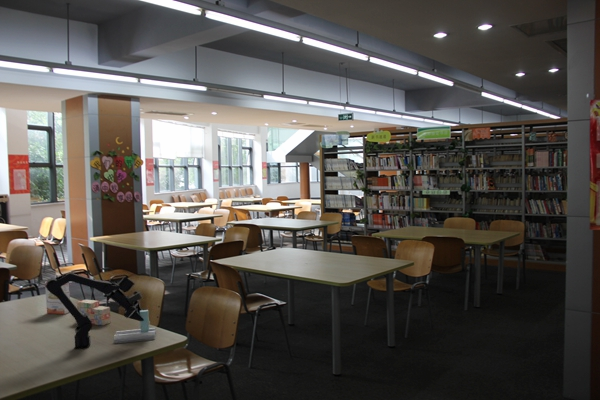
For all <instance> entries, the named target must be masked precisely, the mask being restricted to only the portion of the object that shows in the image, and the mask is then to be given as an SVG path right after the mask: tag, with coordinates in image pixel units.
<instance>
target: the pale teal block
mask: <svg viewBox="0 0 600 400" xmlns="http://www.w3.org/2000/svg"><path fill="white" fill-rule="evenodd" d="M140 315H141V317H142V318H143V319H144V321H139V323H140V324H139V325H140V329H141V332H149V328H150V324H151V321H150V319H149V318H150V316H149V315H150V314H149V309H144V310H143V309H142V310H140Z"/></svg>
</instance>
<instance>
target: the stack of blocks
mask: <svg viewBox="0 0 600 400" xmlns="http://www.w3.org/2000/svg"><path fill="white" fill-rule="evenodd" d="M76 305H77V306H76V308H77V309H78V310H79V311H80V312H81V313H82V314H83V315H84V314H85V313H86V314H87V316H88V317H89V318H91V320H92V322H91V323H92V325H97V326H105V325H108V324H110V323H111V307H110V306H103V305H100V300H94V299H83V300H80V301H77V302H76Z"/></svg>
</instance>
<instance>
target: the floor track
mask: <svg viewBox="0 0 600 400" xmlns="http://www.w3.org/2000/svg"><path fill="white" fill-rule="evenodd" d="M156 329H157V328H156V327H149V332H141V328H138V329H127V330H118V331H115V334H114V335H113V344H114V345H116V344H126V343H132V342H133V343H135V342H143V341H144V342H145V341H154V340H155V338H156V335H157V330H156Z"/></svg>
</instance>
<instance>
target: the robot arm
mask: <svg viewBox="0 0 600 400" xmlns="http://www.w3.org/2000/svg"><path fill="white" fill-rule="evenodd" d="M46 281H47V282H46ZM46 281H45V282H46V288H47V290H48V291H49V292H51V293H52V294H53V295H55V296H56V297H57V298H58V299H59V300H60V301H61V302H62V304H63V305H64V306H65V307H66V309H67V310H68V311H69V314H70V315H71V316H72V317H73V319H74V320H75V322H76V324H77V326H76V327H75V328H74V332H75V334H74V348H73V349H75V350H76V349H85V348H86V349H87V348H89V346H90V345H91V343H92V340H91V335H90V333H89V332H90V331H91V330H92V329H93V324H92V323H91V322H92V320H91V318H89V317H88V316H87V314H86V313H85V314H84V315H83V314H82V313H81V312H80V311H79V310H78V309H77V306H76V305H75V303H74V302H73V301H72V300H71V298H70V299H69V298H68V296H67V295H66V294H65V293H64V291H63V289H62V287H61V286H63V285H65V284H66V283H68V282H69V283H70V282H72V283H75V284H78V285H83V286H86V287H90V288H93V289H95V290H97V291H99V292H101V293H102V294H104V295H106V301H108V302H109V300H110V299H111V300H112V301H113V302H115V303H116V304H117V306H118V307H119V308H120V307H121V308H122V309H123V310H124V313H123V314H124V315H123V316H124V317H125V318H126V319H131V320H136V321H139V322H140V321H144V319H143V318H142V317H141V315H140V310H143V309H142V307H141V302H140V300H141V299H143V295H142V292H141V291H139V290H135V291H133V294H131V296H129V295H126V294H125V293H129V291H130V290H131V289H132V288H133V287H134V286H135V285H136V283H135V282H134V281H132V280H131V279H130V278H128V277H127V276H126V275H125V276H123V277H122V278H121V280H120V281H119V282H117V283H116V282H110V281H107V280H100V279H99V280H98V279H93V278H89V277H86V276H83V275H80V274H76V273H74V272H71V271H68V272H67V273H65V274H62V275H58V276H57V277H51V278H49V279H47V280H46Z"/></svg>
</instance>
